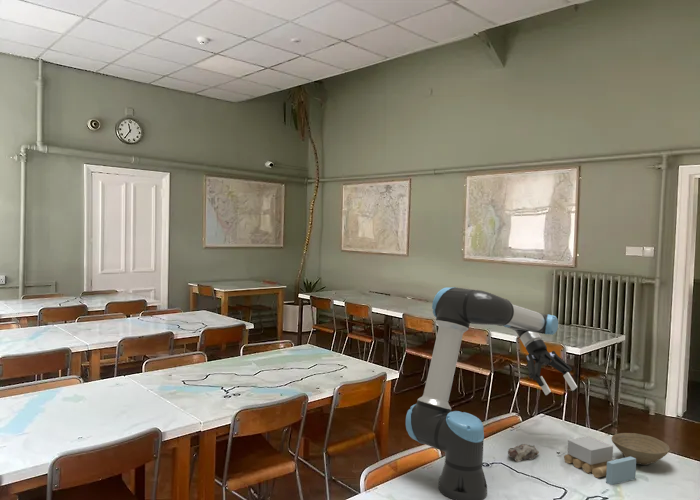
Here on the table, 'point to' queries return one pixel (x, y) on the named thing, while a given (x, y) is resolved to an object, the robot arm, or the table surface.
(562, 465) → the table surface
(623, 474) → the fence
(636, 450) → the bowl
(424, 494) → the table surface
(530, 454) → the mineral rock
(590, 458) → the slab
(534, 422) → the table surface
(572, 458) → the roller bed
